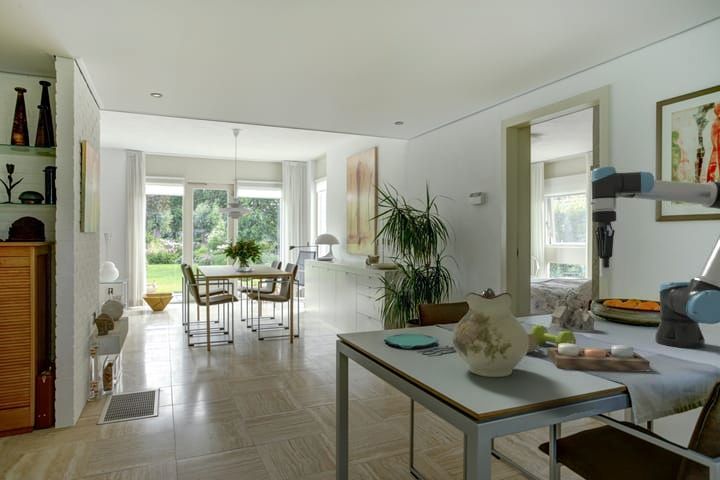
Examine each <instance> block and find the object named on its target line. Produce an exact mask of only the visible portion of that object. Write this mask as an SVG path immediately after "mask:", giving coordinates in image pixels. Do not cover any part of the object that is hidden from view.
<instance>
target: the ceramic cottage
mask: <svg viewBox="0 0 720 480" xmlns="http://www.w3.org/2000/svg"><path fill="white" fill-rule="evenodd" d="M555 302H556V303H555V309H554V310H553V311H552V314H551V315H550V317H551V322H550V323H549V325H548V328H549V329H551V330H554V331H559V332H562V331H570V332H572V333H593V332H596V329H595V323H596V319H595V318H594V317H593V316H592V315H591V313H590V312H589V309H588V308H585V309H583V308H580V307H579V304H578V303H577V301H576V299H574V300H573V297H572V294H568V297H567V299H566V301H565V303H564V305H562V301H561V300H560V299H557V300H556V301H555Z"/></svg>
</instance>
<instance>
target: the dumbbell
mask: <svg viewBox="0 0 720 480" xmlns="http://www.w3.org/2000/svg"><path fill="white" fill-rule="evenodd" d="M529 333H531V334H533V335H534V336H535V337H536V339H537V345H539V346H541V345H546V343H547V342H548V343H553V344H555V346H556V348H558V344H561V343H569V344H575V345H577V344H576V343H577V340H576V338H575V335H574V332H573V331H559V332H558V334H553V333H549V332H548V330H547V328H546V327H545V326H544V325H540V324H538V325H533V326H532V327H531V329H530V330H529Z"/></svg>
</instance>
